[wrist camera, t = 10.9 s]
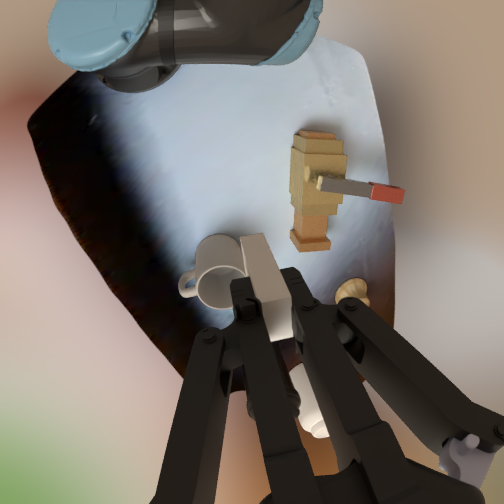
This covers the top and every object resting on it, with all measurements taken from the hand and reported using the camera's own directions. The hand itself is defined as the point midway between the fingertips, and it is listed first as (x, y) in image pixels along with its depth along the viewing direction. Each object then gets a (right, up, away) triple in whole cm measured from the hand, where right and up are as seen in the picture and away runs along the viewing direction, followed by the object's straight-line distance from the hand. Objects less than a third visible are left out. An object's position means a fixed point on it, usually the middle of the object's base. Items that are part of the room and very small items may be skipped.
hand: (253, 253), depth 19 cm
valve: (+10, +12, +32) cm, 35 cm away
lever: (+17, +11, +25) cm, 32 cm away
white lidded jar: (+15, -34, +57) cm, 68 cm away
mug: (-8, -1, +35) cm, 36 cm away
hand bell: (+23, -9, +46) cm, 52 cm away
